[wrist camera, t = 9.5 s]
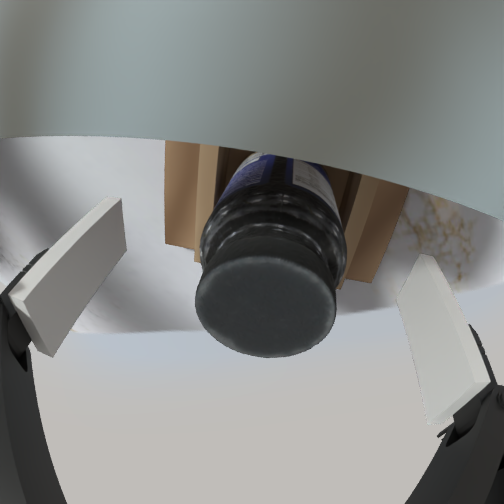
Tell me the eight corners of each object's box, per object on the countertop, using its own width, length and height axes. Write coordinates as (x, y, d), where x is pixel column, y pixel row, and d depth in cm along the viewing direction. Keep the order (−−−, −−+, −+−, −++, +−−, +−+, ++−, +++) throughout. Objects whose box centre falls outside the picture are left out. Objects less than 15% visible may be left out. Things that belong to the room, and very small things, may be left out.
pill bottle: (238, 230, 21) (191, 362, 12) (229, 143, 17) (150, 233, 8) (329, 231, 20) (343, 371, 11) (332, 142, 16) (373, 236, 7)
